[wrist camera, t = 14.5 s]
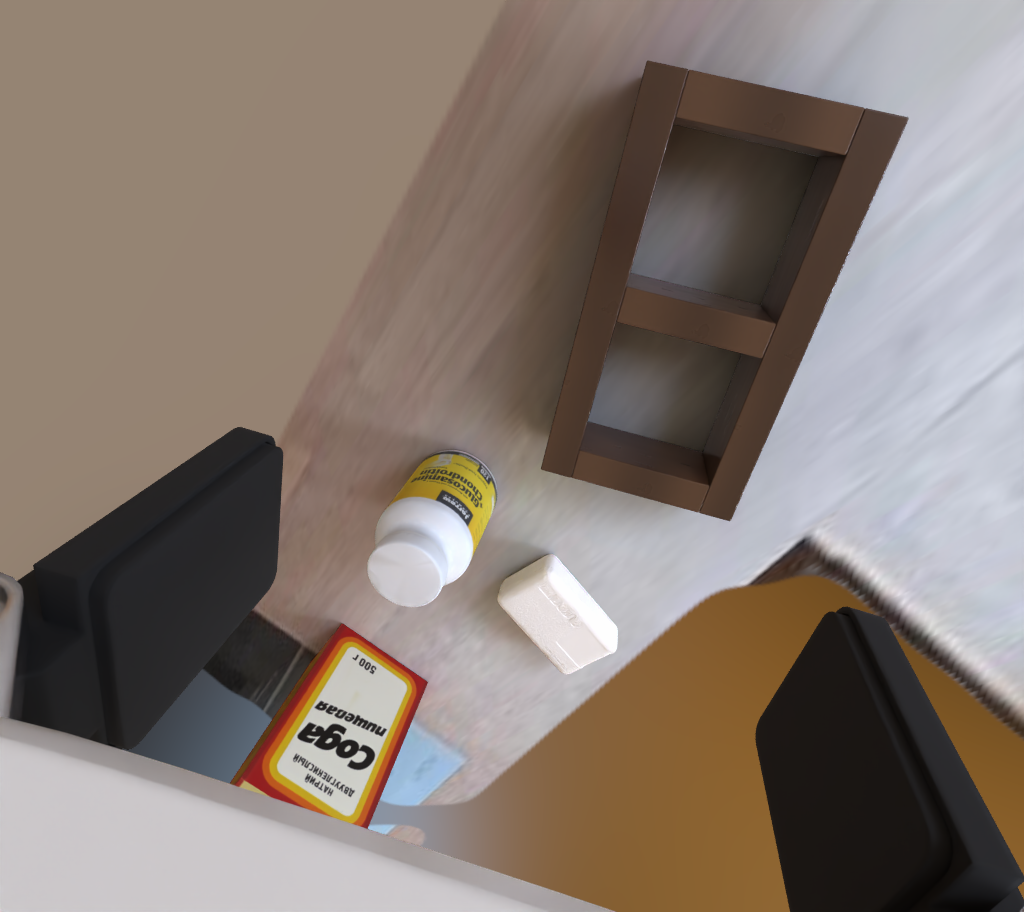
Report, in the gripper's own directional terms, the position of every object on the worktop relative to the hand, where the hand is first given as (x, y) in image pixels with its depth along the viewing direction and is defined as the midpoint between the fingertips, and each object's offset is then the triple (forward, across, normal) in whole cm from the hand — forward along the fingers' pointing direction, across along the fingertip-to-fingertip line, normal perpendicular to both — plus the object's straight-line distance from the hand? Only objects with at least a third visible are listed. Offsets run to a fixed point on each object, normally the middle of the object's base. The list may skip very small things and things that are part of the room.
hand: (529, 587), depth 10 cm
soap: (+31, -4, +26) cm, 40 cm away
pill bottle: (+31, +6, +18) cm, 37 cm away
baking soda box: (+31, +11, +40) cm, 52 cm away
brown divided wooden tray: (+31, -5, 0) cm, 32 cm away
